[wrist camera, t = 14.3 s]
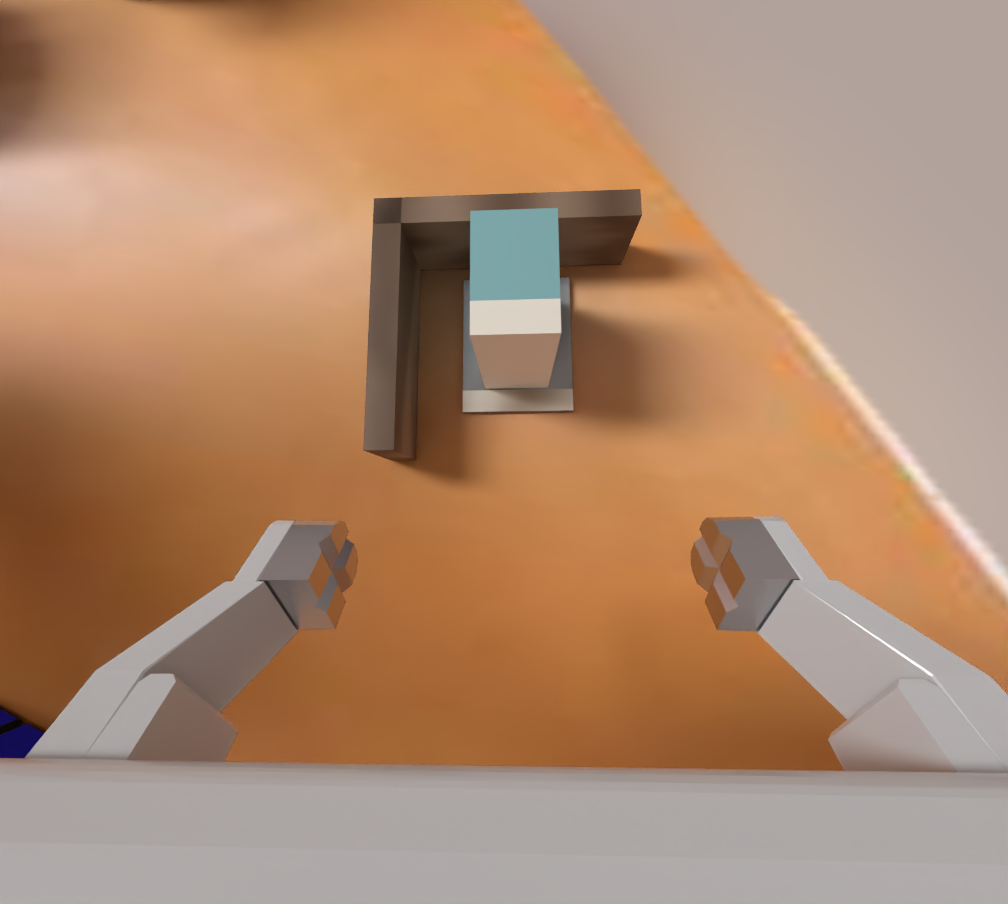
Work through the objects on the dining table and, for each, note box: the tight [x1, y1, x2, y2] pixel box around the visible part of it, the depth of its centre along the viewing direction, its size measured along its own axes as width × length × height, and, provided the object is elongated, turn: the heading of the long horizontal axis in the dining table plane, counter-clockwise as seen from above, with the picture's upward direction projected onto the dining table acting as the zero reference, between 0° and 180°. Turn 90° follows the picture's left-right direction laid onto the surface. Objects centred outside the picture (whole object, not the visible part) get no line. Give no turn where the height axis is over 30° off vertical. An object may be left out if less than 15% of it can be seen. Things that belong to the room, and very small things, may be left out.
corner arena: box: [364, 189, 642, 460], centre depth 24 cm, size 15×15×4 cm
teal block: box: [470, 208, 561, 389], centre depth 22 cm, size 4×6×8 cm, turn 0°
